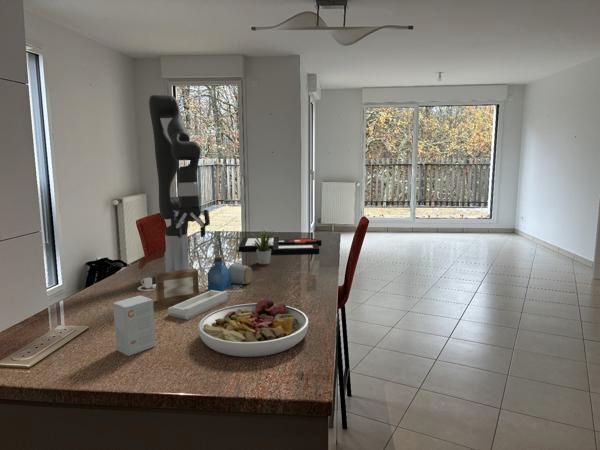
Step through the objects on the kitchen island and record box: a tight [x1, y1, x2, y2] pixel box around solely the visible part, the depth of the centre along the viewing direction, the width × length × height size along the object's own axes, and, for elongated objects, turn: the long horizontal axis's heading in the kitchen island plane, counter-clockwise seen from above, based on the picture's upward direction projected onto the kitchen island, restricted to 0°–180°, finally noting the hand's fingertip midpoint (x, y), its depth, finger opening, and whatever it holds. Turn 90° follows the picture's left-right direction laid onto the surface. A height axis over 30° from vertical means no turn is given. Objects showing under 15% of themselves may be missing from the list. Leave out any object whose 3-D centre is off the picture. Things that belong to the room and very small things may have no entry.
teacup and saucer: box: [137, 277, 156, 292], centre depth 171 cm, size 9×8×4 cm
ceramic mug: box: [227, 263, 253, 285], centre depth 177 cm, size 11×8×8 cm
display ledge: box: [167, 290, 229, 320], centre depth 147 cm, size 8×20×4 cm, turn 152°
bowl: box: [198, 296, 309, 358], centre depth 123 cm, size 30×30×8 cm
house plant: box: [250, 228, 279, 265], centre depth 208 cm, size 14×14×16 cm
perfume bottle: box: [207, 256, 231, 292], centre depth 169 cm, size 6×6×12 cm
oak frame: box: [154, 268, 200, 305], centre depth 156 cm, size 14×4×10 cm, turn 117°
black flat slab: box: [238, 236, 322, 255], centre depth 245 cm, size 36×3×45 cm
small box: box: [112, 295, 157, 357], centre depth 116 cm, size 8×6×13 cm
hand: (191, 237), depth 168 cm, fingers open, 8 cm apart
